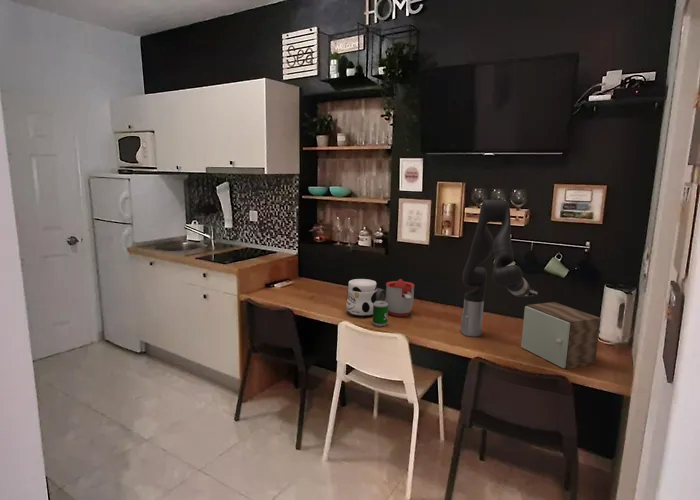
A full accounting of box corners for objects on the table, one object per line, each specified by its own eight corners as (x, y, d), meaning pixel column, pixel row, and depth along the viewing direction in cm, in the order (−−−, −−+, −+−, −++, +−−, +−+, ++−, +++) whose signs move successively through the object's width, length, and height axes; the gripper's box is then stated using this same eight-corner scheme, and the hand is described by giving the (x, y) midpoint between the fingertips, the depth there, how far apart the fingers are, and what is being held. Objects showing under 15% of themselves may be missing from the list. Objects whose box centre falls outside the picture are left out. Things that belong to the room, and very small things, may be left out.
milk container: (340, 314, 240) (340, 282, 237) (356, 307, 255) (357, 276, 252) (367, 320, 231) (368, 287, 228) (382, 312, 246) (384, 281, 243)
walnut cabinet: (566, 369, 178) (571, 321, 175) (523, 347, 200) (527, 305, 197) (594, 363, 184) (600, 318, 181) (550, 343, 206) (554, 302, 203)
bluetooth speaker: (346, 300, 269) (346, 284, 267) (355, 296, 276) (355, 281, 275) (378, 307, 256) (379, 290, 254) (386, 303, 264) (387, 287, 262)
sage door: (560, 368, 177) (565, 323, 174) (518, 347, 199) (522, 306, 196) (565, 367, 178) (570, 323, 175) (523, 346, 200) (526, 306, 197)
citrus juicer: (395, 320, 233) (396, 284, 229) (379, 311, 248) (381, 276, 245) (420, 317, 239) (422, 281, 235) (403, 308, 254) (405, 274, 251)
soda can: (381, 328, 221) (381, 305, 219) (369, 324, 226) (370, 301, 224) (390, 324, 226) (391, 302, 224) (378, 321, 231) (379, 299, 229)
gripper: (536, 280, 172) (544, 289, 186) (503, 273, 180) (513, 282, 194) (532, 298, 171) (540, 306, 185) (498, 290, 179) (508, 298, 193)
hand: (526, 294), depth 190 cm, fingers closed
